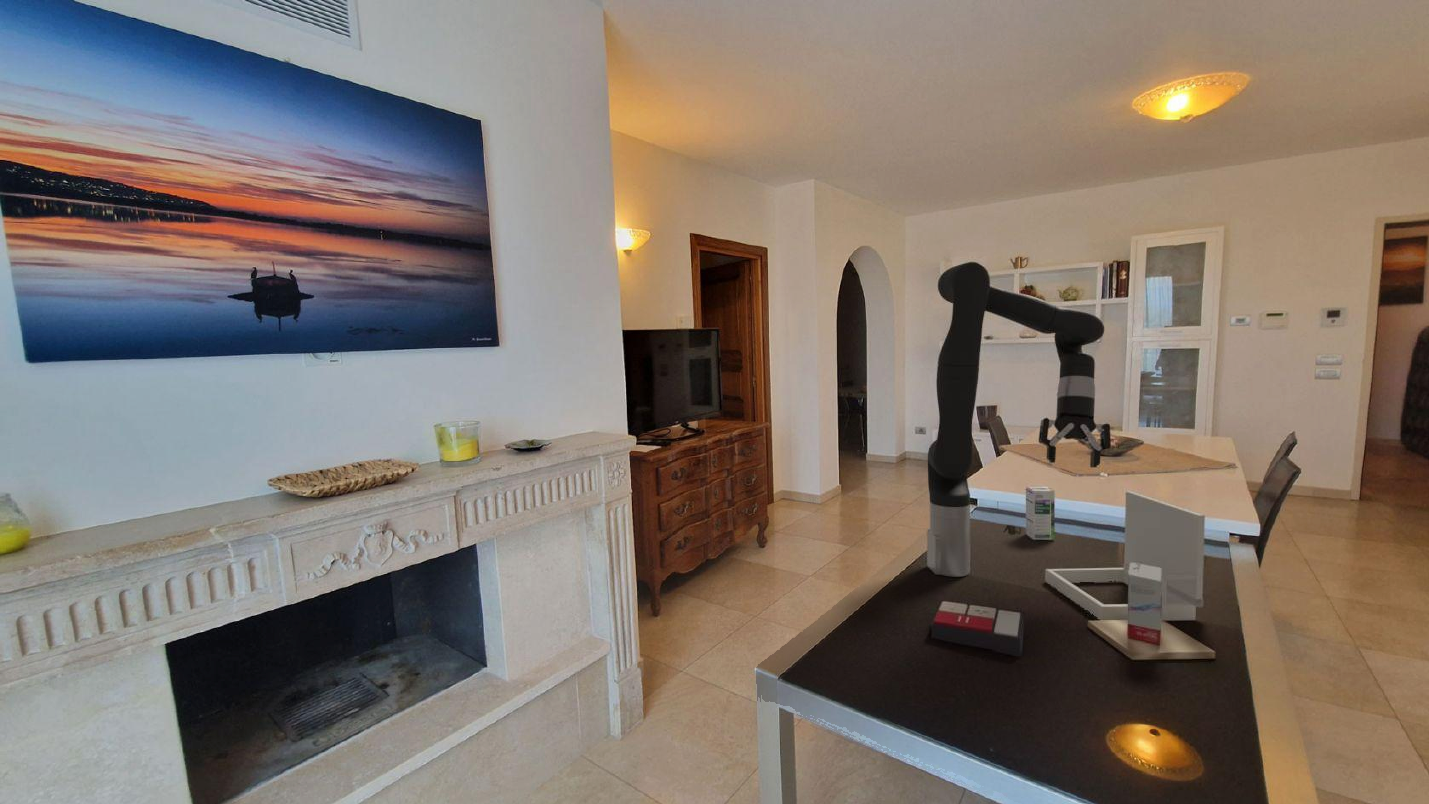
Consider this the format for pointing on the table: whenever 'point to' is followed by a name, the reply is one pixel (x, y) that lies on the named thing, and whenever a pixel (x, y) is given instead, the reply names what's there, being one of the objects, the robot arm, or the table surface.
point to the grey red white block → (979, 627)
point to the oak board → (1170, 647)
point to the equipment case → (1148, 560)
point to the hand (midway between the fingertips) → (1072, 464)
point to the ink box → (1144, 603)
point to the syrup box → (1040, 513)
